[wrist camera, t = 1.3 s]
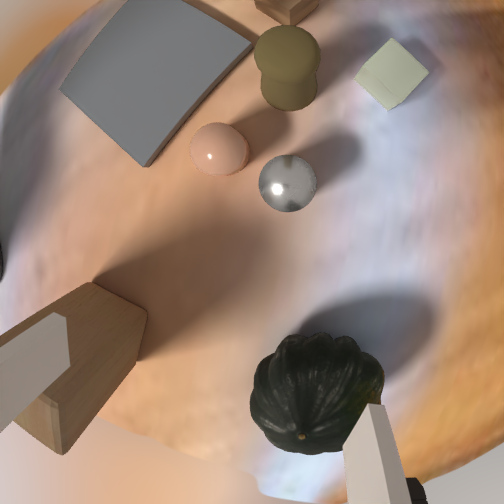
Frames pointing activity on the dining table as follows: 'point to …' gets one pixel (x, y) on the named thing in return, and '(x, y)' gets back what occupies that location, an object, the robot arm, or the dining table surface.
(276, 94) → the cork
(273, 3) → the walnut block
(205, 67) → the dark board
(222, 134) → the peach rounded capsule
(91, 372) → the wooden block
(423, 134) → the dining table surface
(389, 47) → the sage block
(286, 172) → the metal tin
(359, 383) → the squash
